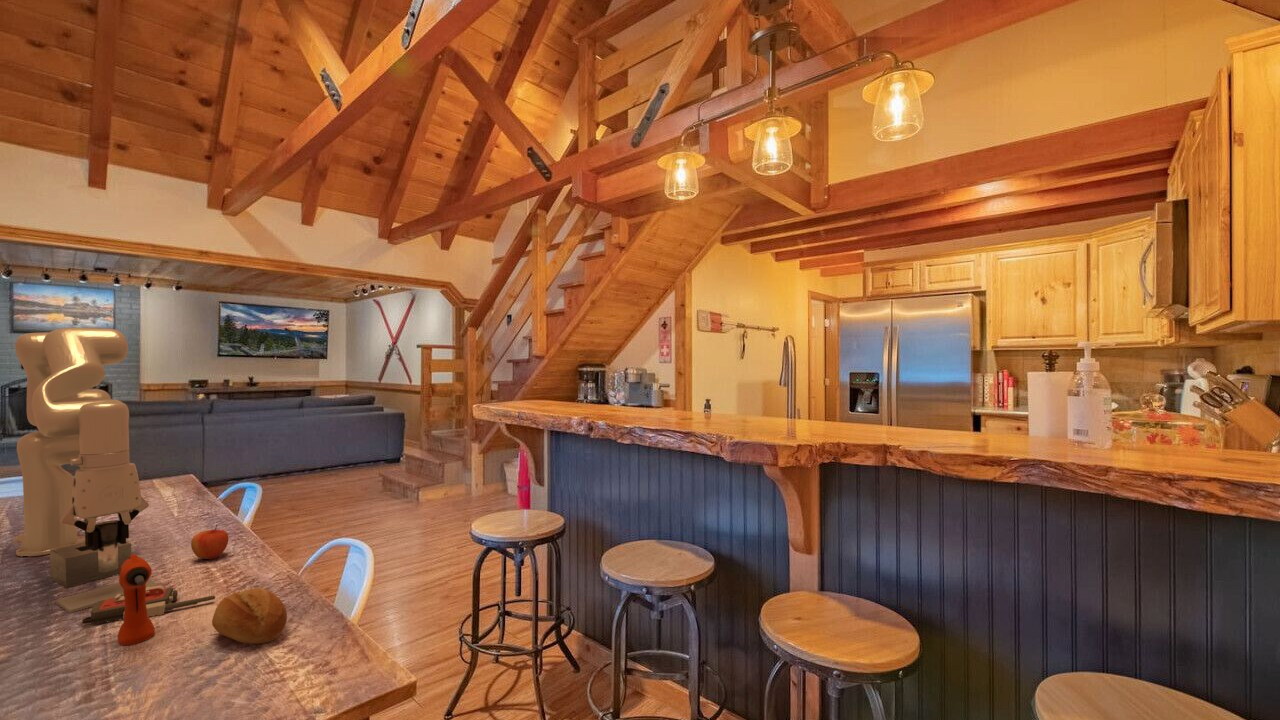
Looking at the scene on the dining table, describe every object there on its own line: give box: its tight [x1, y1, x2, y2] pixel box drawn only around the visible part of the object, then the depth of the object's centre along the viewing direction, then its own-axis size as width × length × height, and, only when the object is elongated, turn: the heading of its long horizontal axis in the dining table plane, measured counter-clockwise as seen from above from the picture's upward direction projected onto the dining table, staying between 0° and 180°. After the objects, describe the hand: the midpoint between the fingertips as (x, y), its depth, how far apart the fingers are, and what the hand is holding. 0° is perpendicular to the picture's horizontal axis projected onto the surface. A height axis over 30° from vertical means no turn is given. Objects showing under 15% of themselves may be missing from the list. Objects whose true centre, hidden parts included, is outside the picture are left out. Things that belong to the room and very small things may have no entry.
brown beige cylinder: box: [95, 519, 120, 573], centre depth 116 cm, size 4×4×10 cm
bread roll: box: [211, 587, 288, 644], centre depth 99 cm, size 10×15×8 cm, turn 63°
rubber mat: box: [54, 578, 160, 614], centre depth 117 cm, size 9×14×1 cm, turn 149°
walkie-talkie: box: [81, 584, 216, 626], centre depth 110 cm, size 9×4×20 cm
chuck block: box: [49, 541, 132, 589], centre depth 128 cm, size 11×11×6 cm
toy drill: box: [117, 553, 156, 646], centre depth 96 cm, size 5×19×15 cm, turn 46°
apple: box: [190, 524, 229, 560], centre depth 137 cm, size 7×7×8 cm
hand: (107, 545), depth 116 cm, fingers closed on brown beige cylinder, 3 cm apart
